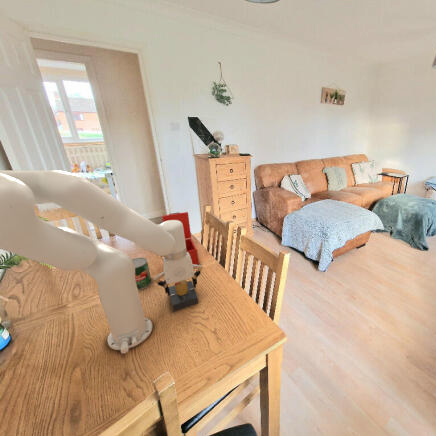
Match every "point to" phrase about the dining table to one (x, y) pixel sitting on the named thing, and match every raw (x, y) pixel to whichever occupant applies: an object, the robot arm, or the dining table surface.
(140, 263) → the canned tomato
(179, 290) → the knob
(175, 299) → the panel
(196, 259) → the open red box
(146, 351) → the dining table surface
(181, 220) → the red box lid
